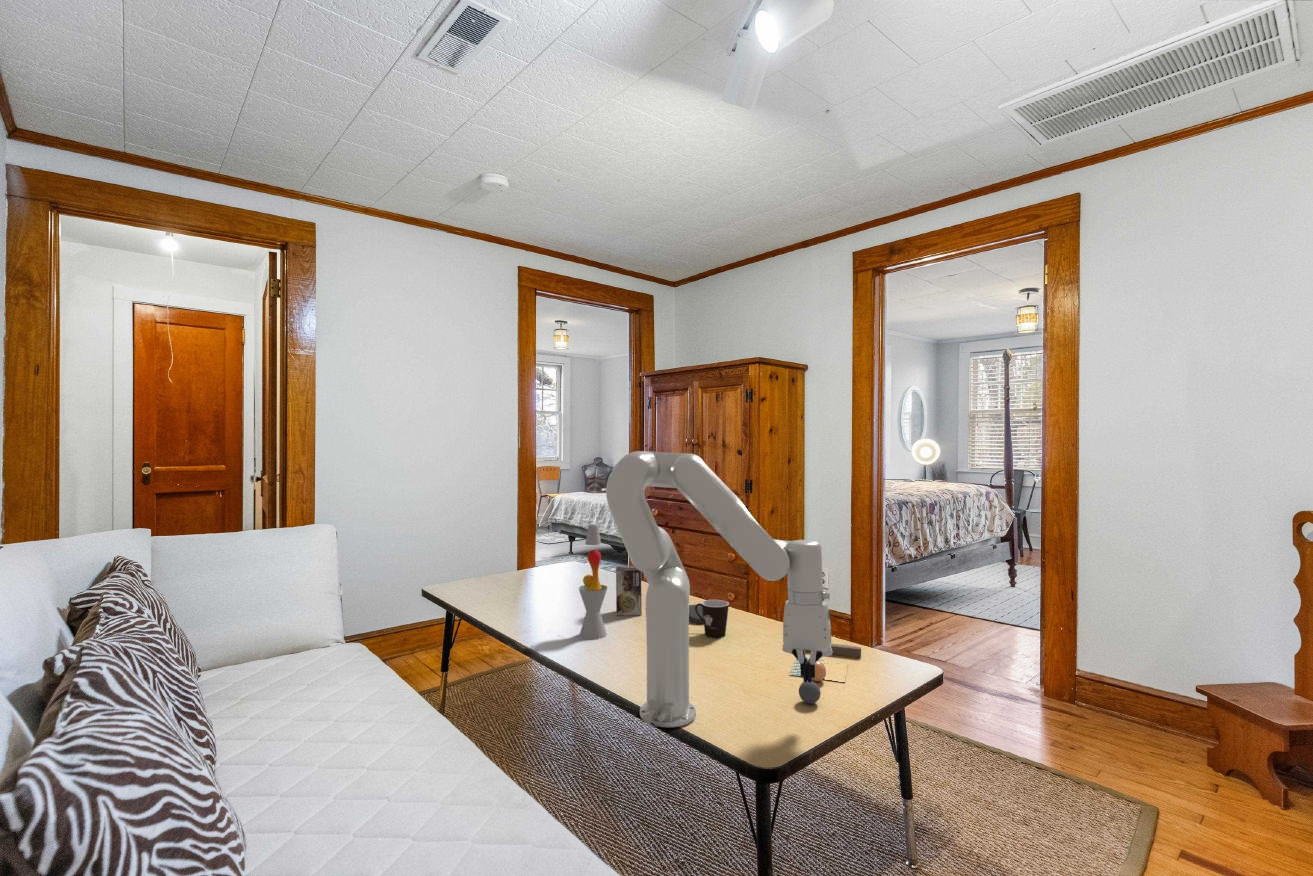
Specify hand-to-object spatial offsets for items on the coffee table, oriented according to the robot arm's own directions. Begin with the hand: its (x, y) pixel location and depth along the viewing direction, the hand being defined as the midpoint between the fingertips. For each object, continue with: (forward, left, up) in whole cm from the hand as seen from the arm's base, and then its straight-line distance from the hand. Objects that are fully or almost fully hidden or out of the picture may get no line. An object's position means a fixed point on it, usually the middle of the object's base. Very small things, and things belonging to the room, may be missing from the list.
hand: (808, 679), depth 135 cm
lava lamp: (+35, +71, -9) cm, 80 cm away
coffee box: (+61, +70, -9) cm, 93 cm away
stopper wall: (+45, +1, -9) cm, 46 cm away
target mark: (+31, +1, -9) cm, 33 cm away
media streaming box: (+66, +45, -10) cm, 81 cm away
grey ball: (+9, +1, -7) cm, 11 cm away
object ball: (+23, +1, -7) cm, 24 cm away
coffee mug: (+50, +36, -9) cm, 62 cm away
